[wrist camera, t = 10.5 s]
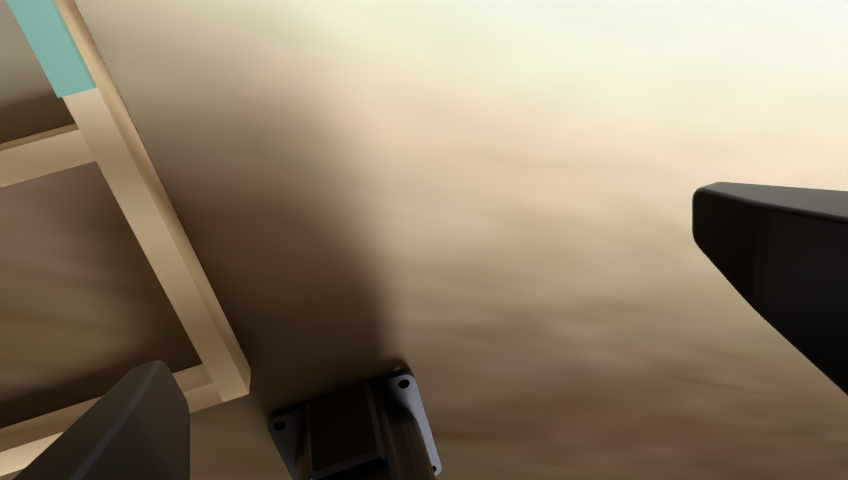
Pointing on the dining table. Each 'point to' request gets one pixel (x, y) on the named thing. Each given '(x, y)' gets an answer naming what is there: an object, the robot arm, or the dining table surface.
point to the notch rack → (140, 202)
